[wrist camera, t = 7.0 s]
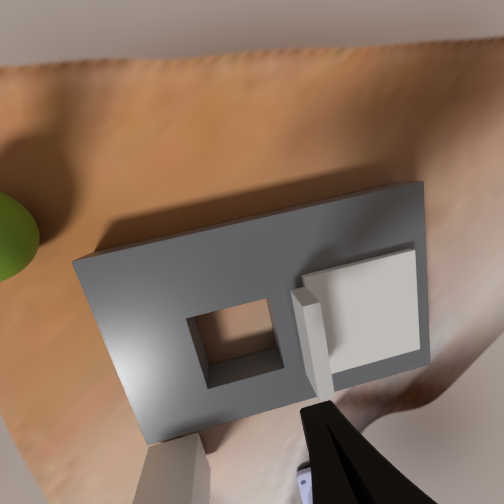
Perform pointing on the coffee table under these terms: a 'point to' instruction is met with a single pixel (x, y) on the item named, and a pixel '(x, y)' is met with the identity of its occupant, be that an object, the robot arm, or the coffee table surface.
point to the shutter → (356, 316)
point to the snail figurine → (16, 237)
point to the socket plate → (236, 293)
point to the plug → (175, 473)
